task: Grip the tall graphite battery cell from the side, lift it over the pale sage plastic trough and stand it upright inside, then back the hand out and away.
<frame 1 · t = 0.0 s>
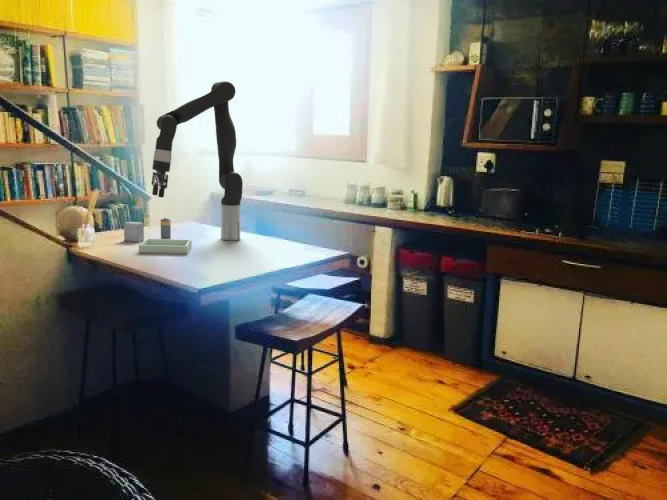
hand: (157, 196, 254), 22 cm above the table, tool pointing down, fingers open, 8 cm apart
trough: (166, 250, 247), on the table
battery cell: (165, 242, 263), on the table
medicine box: (134, 241, 264), on the table
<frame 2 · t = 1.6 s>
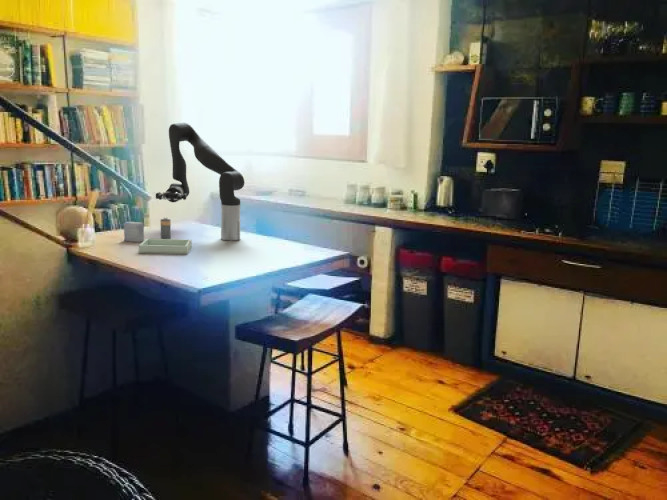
hand: (169, 197, 269), 20 cm above the table, tool horizontal, fingers open, 8 cm apart
nothing on the table moved.
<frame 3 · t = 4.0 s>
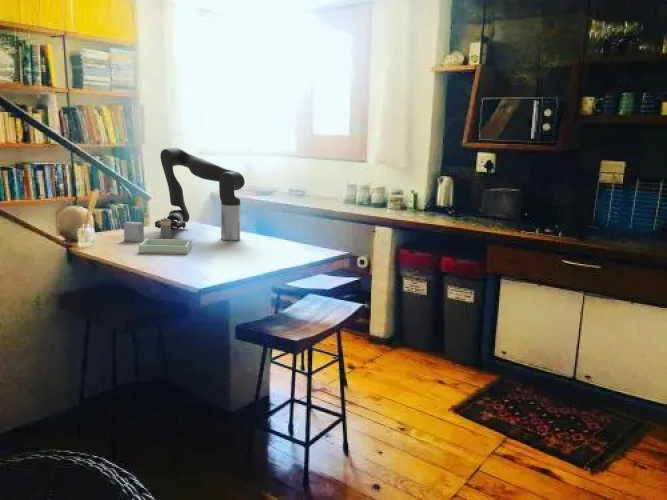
hand: (168, 226, 268), 7 cm above the table, tool horizontal, fingers open, 8 cm apart
nothing on the table moved.
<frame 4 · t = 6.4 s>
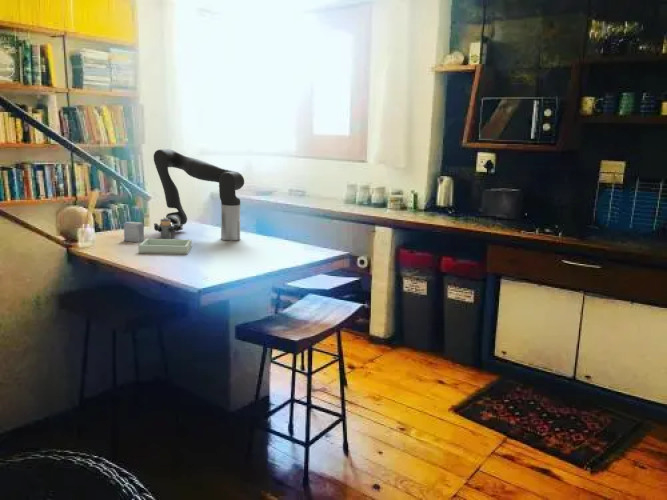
hand: (164, 229, 259), 7 cm above the table, tool horizontal, fingers closed on battery cell, 4 cm apart
battery cell: (165, 242, 263), on the table, touching gripper
everything else where it was.
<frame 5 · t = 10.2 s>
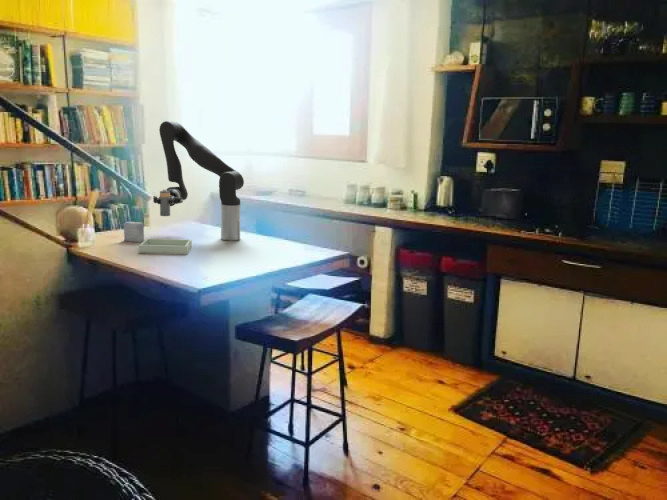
hand: (164, 201, 253), 20 cm above the table, tool horizontal, fingers closed on battery cell, 4 cm apart
battery cell: (165, 215, 257), point 13 cm above the table, touching gripper
everything else where it was.
when the fingers open (9 cm above the table, at t = 14.1 s): battery cell drops 2 cm, resting on trough.
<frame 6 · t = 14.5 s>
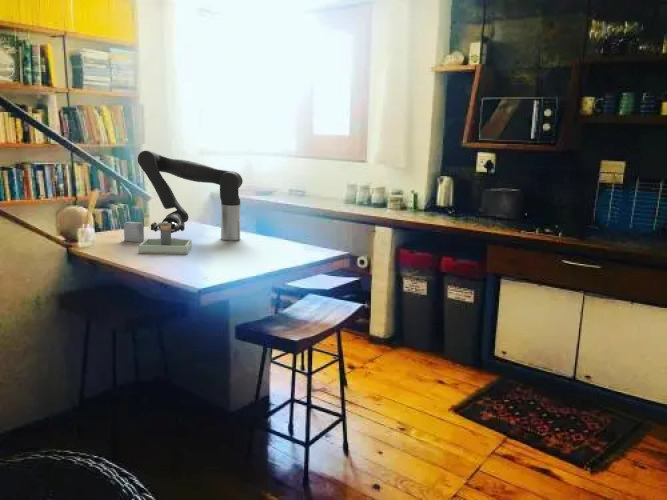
hand: (165, 229, 244), 10 cm above the table, tool horizontal, fingers open, 8 cm apart
battery cell: (166, 248, 247), point 1 cm above the table, touching trough
everything else where it was.
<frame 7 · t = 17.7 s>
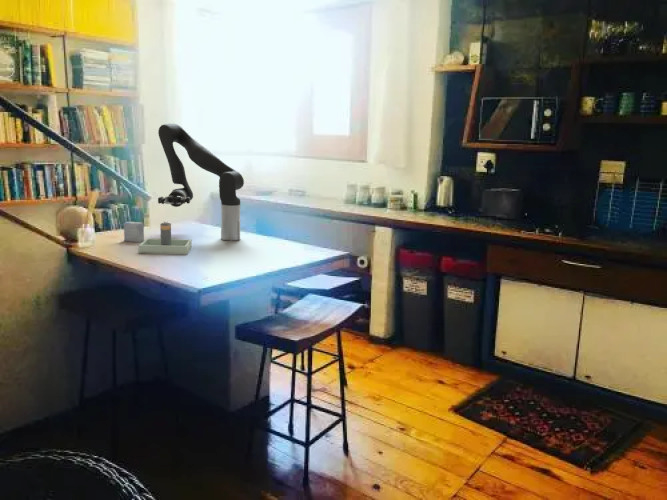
hand: (171, 201, 258), 20 cm above the table, tool horizontal, fingers open, 8 cm apart
nothing on the table moved.
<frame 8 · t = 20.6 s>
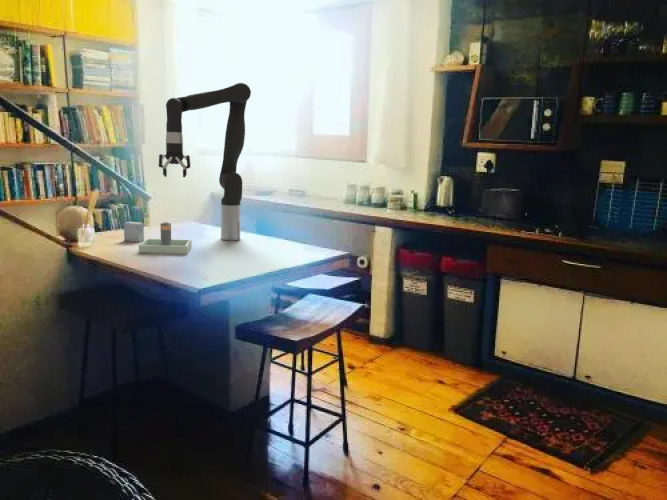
hand: (174, 176, 266), 30 cm above the table, tool pointing down, fingers open, 8 cm apart
nothing on the table moved.
at the end: battery cell inside the target area on the trough (0.1 cm from its centre), point 0.8 cm above the trough's base; battery cell tilted 0°; the gripper is holding nothing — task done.
